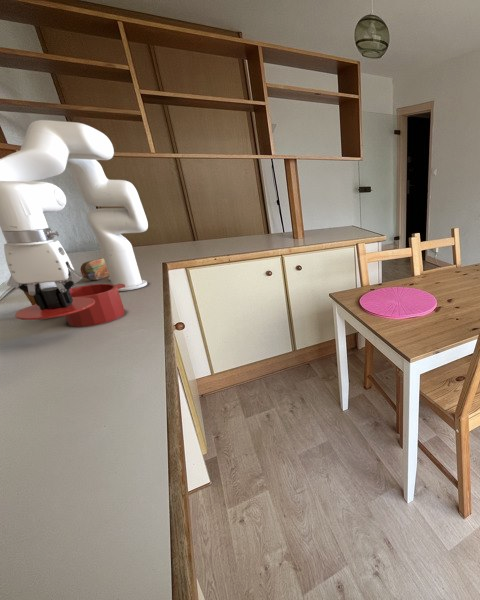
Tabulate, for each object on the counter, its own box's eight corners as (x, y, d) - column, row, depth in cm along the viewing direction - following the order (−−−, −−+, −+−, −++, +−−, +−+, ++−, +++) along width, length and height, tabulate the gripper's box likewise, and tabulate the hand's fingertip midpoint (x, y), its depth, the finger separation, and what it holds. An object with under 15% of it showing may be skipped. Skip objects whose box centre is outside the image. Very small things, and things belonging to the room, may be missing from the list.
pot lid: (3, 316, 78) (-8, 293, 76) (75, 298, 91) (68, 278, 89) (37, 326, 74) (27, 302, 72) (108, 305, 87) (101, 284, 85)
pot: (46, 325, 96) (34, 297, 92) (116, 304, 113) (108, 279, 109) (74, 333, 92) (62, 303, 88) (142, 310, 108) (135, 284, 105)
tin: (90, 282, 134) (83, 263, 131) (82, 282, 134) (75, 263, 131) (119, 272, 148) (114, 255, 145) (113, 272, 148) (107, 255, 145)
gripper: (80, 232, 82) (102, 297, 89) (-10, 236, 75) (21, 306, 82) (67, 237, 76) (92, 307, 82) (-33, 241, 69) (3, 316, 76)
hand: (56, 305), depth 82 cm, fingers closed on pot lid, 3 cm apart
